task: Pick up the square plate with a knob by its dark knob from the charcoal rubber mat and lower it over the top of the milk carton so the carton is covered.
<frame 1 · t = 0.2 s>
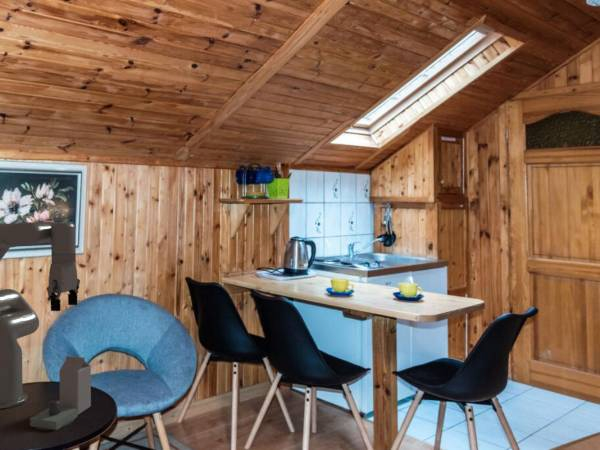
hand: (64, 307, 167), 36 cm above the table, tool pointing down, fingers open, 9 cm apart
milk carton: (75, 411, 168), on the table
square plate with knob: (54, 421, 159), point 1 cm above the table, touching mat
mat: (54, 423, 159), on the table
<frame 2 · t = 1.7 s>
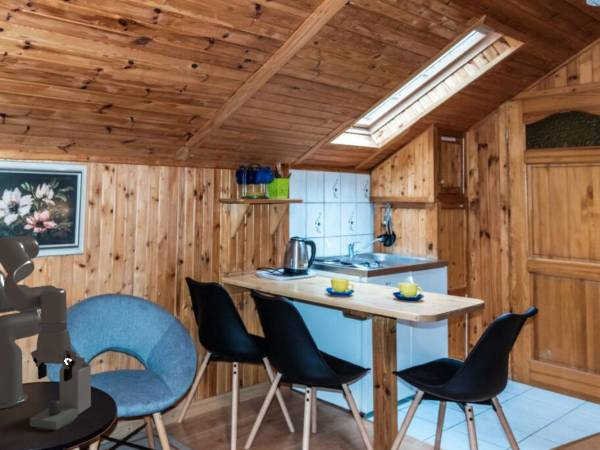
hand: (55, 378, 158), 15 cm above the table, tool pointing down, fingers open, 9 cm apart
nothing on the table moved.
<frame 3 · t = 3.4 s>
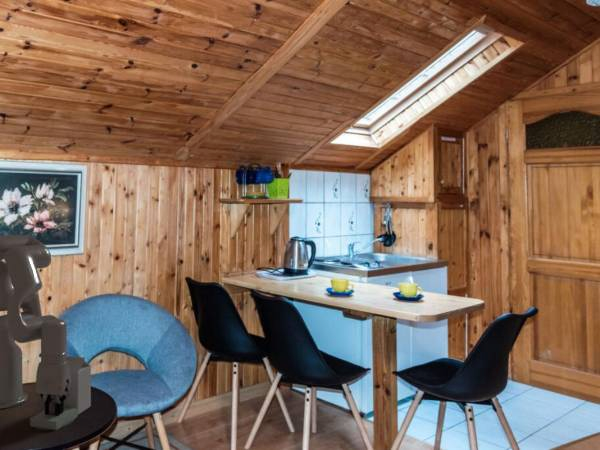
hand: (54, 412, 158), 3 cm above the table, tool pointing down, fingers closed on square plate with knob, 3 cm apart
square plate with knob: (54, 421, 159), point 1 cm above the table, touching gripper, mat
everything else where it was.
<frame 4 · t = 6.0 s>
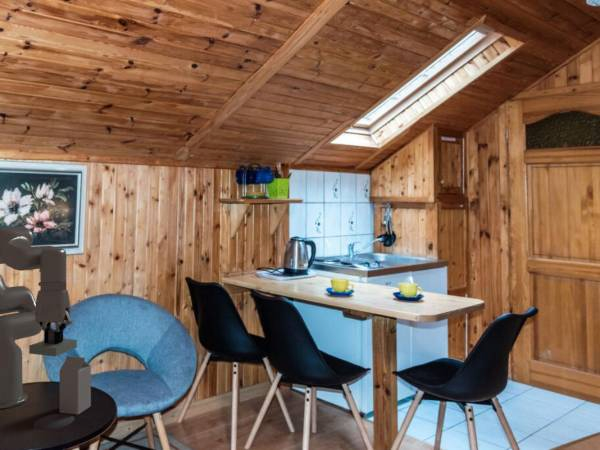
hand: (53, 341, 157), 27 cm above the table, tool pointing down, fingers closed on square plate with knob, 3 cm apart
square plate with knob: (53, 350, 158), point 24 cm above the table, touching gripper
everything else where it was.
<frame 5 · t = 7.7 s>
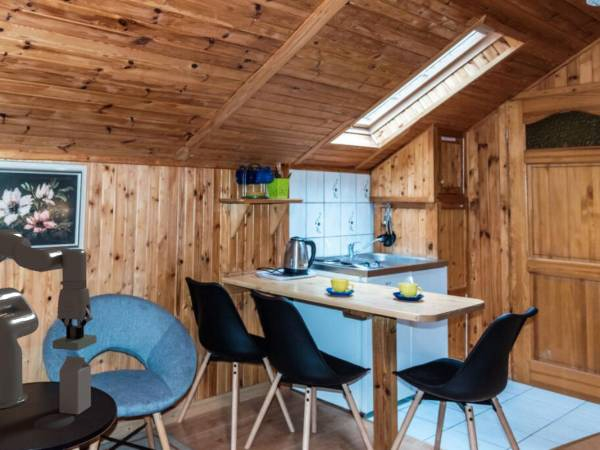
hand: (75, 337, 167), 26 cm above the table, tool pointing down, fingers closed on square plate with knob, 3 cm apart
square plate with knob: (75, 345, 167), point 23 cm above the table, touching gripper
everything else where it was.
when the fingers open (21 cm above the table, at t = 8.9 s): square plate with knob drops 1 cm, resting on milk carton.
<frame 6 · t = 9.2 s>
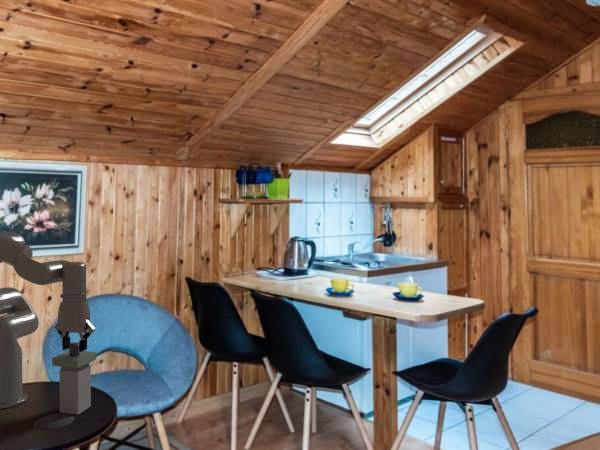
hand: (74, 349, 167), 22 cm above the table, tool pointing down, fingers open, 6 cm apart
milk carton: (75, 411, 168), on the table, touching square plate with knob
square plate with knob: (74, 362, 168), point 17 cm above the table, touching milk carton
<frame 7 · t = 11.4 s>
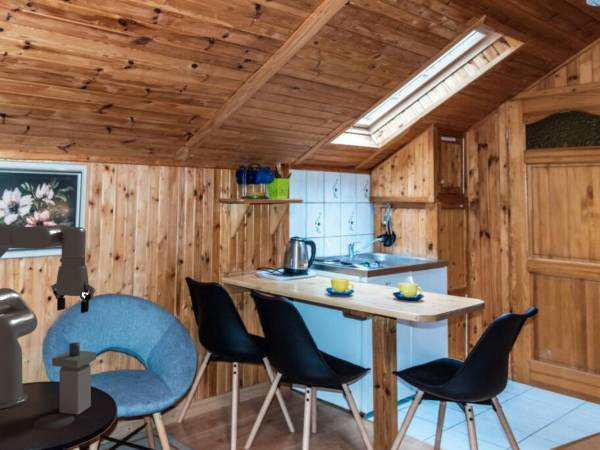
hand: (72, 311, 169), 34 cm above the table, tool pointing down, fingers open, 9 cm apart
nothing on the table moved.
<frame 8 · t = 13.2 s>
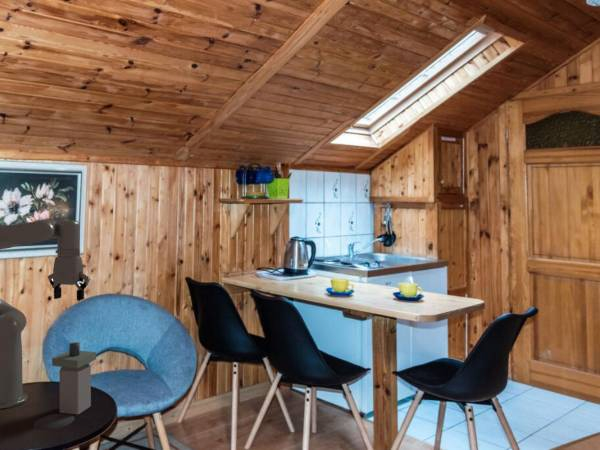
hand: (68, 299, 180), 36 cm above the table, tool pointing down, fingers open, 9 cm apart
nothing on the table moved.
at the end: square plate with knob 0.3 cm off-centre in the milk carton, point 17.2 cm above the milk carton's base; the gripper is holding nothing; milk carton tilted 0° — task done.
